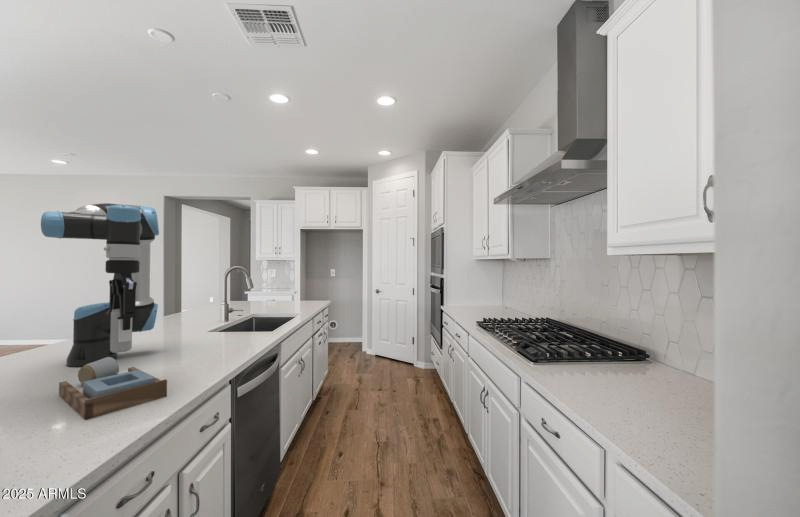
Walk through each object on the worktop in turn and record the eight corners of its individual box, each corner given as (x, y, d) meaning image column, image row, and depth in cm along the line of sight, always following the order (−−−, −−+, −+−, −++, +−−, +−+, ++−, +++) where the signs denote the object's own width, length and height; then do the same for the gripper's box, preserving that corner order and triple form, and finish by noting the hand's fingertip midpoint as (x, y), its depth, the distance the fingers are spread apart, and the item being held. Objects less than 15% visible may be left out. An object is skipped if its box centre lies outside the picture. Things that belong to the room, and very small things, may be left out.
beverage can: (107, 354, 92) (108, 311, 92) (112, 349, 96) (113, 308, 96) (129, 352, 94) (130, 310, 94) (133, 348, 98) (134, 307, 98)
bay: (58, 399, 97) (59, 379, 98) (133, 381, 112) (133, 364, 112) (85, 424, 83) (85, 400, 83) (166, 400, 98) (167, 380, 98)
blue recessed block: (82, 403, 93) (83, 381, 93) (138, 388, 103) (139, 369, 103) (96, 414, 86) (97, 391, 86) (154, 397, 97) (155, 377, 97)
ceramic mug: (75, 386, 108) (75, 362, 108) (101, 377, 116) (102, 355, 116) (101, 389, 106) (102, 365, 106) (126, 380, 114) (127, 358, 114)
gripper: (96, 259, 97) (94, 337, 97) (117, 259, 87) (115, 347, 87) (127, 259, 103) (125, 333, 103) (151, 259, 93) (149, 341, 93)
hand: (121, 339), depth 95 cm, fingers closed on beverage can, 5 cm apart
